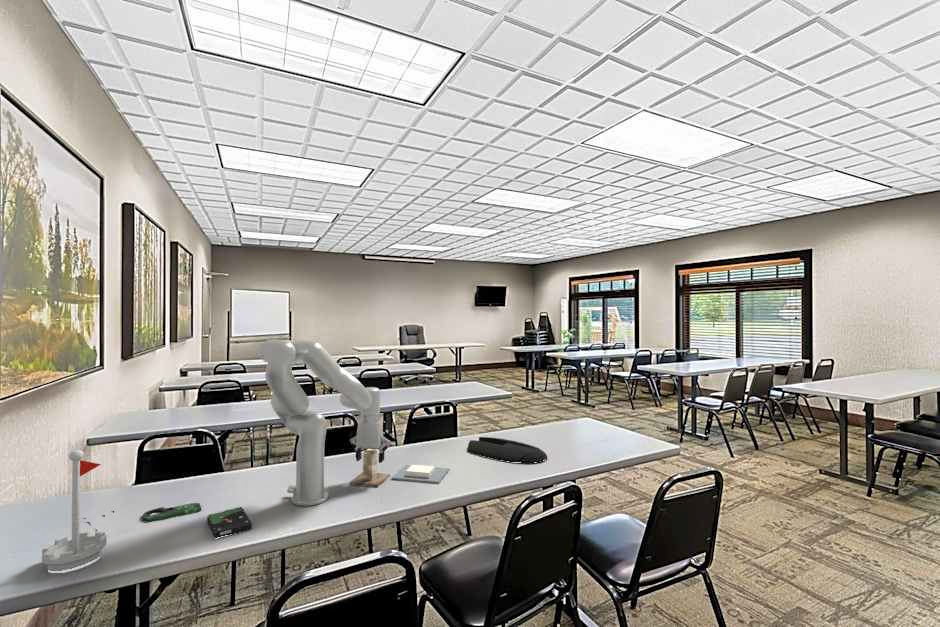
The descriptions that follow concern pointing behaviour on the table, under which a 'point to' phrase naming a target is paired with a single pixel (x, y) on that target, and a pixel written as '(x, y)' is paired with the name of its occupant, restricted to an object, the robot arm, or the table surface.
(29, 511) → the table surface
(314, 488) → the robot arm
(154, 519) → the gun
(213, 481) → the table surface
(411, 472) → the tile
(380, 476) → the plate
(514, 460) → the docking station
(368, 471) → the block
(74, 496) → the flag stand
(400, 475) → the mat
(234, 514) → the disk drive
